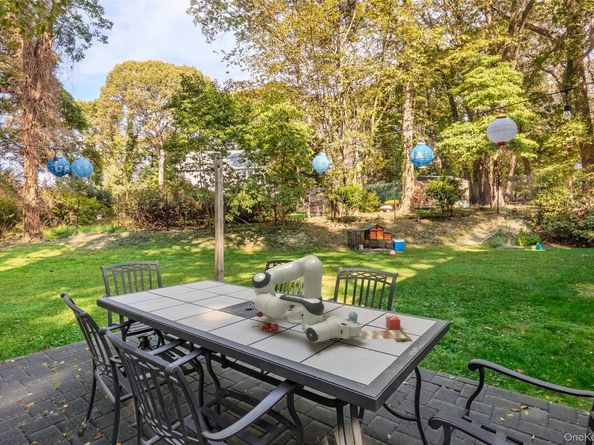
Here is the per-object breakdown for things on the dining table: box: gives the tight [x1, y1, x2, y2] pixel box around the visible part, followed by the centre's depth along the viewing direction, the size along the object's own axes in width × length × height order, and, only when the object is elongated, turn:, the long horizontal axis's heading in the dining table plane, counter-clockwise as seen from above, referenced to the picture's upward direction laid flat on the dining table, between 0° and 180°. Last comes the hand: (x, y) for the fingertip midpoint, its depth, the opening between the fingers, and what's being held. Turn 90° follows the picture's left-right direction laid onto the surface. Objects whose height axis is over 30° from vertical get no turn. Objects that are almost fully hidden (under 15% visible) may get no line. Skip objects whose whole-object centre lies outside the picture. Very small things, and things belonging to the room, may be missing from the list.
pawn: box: [347, 311, 359, 337], centre depth 176 cm, size 6×6×13 cm
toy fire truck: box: [256, 311, 280, 334], centre depth 187 cm, size 3×14×10 cm, turn 59°
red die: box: [385, 315, 401, 330], centre depth 190 cm, size 6×6×6 cm
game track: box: [348, 328, 413, 343], centre depth 177 cm, size 34×14×1 cm, turn 94°
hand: (354, 321), depth 176 cm, fingers open, 5 cm apart
